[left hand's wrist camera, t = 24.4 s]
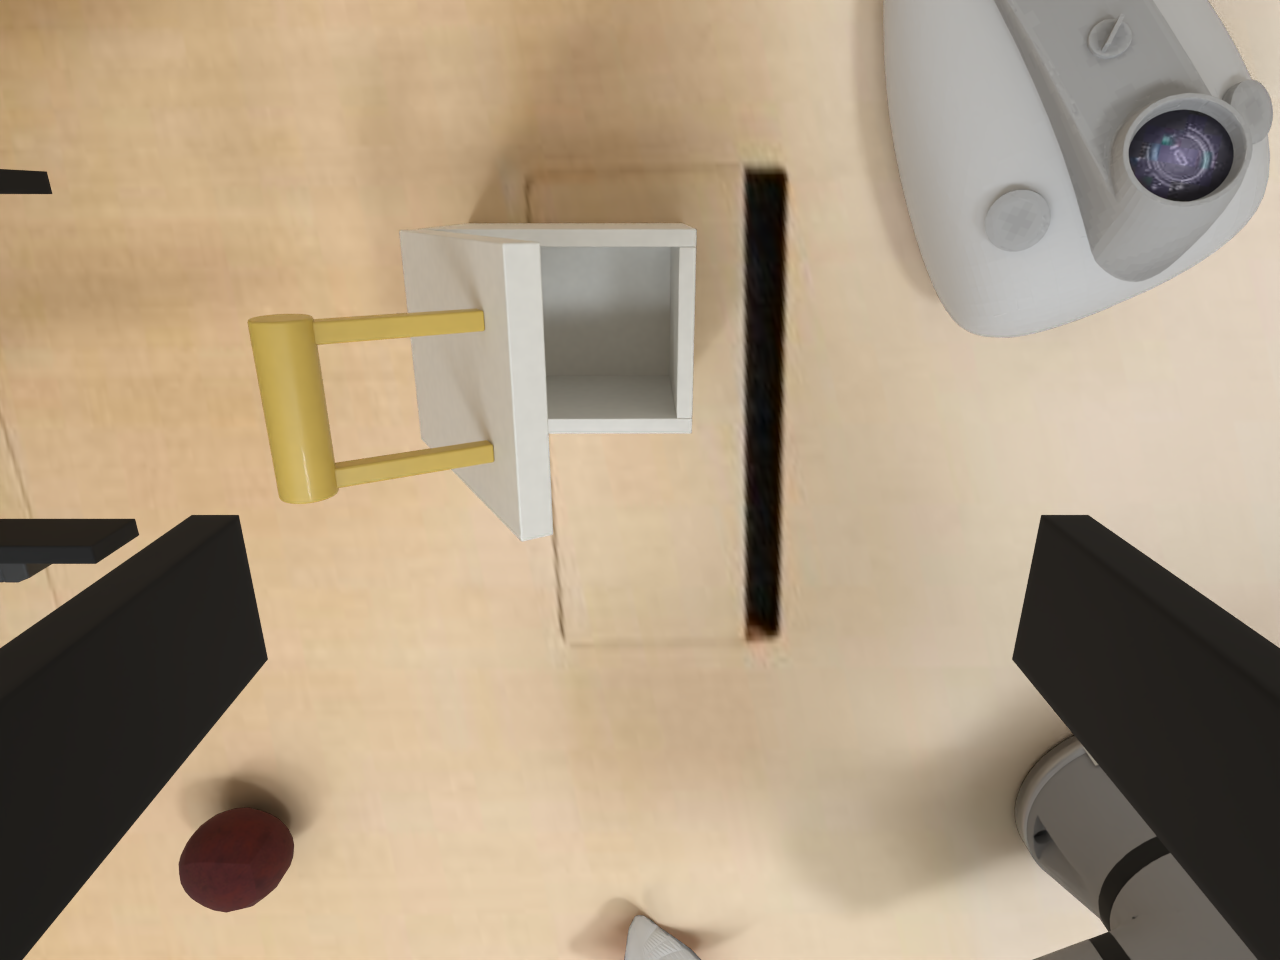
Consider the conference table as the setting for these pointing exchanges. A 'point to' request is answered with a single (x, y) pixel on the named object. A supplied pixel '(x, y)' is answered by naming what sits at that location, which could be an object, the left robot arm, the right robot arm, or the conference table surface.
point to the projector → (1068, 149)
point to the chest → (613, 322)
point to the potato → (236, 859)
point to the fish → (654, 943)
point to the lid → (430, 379)
